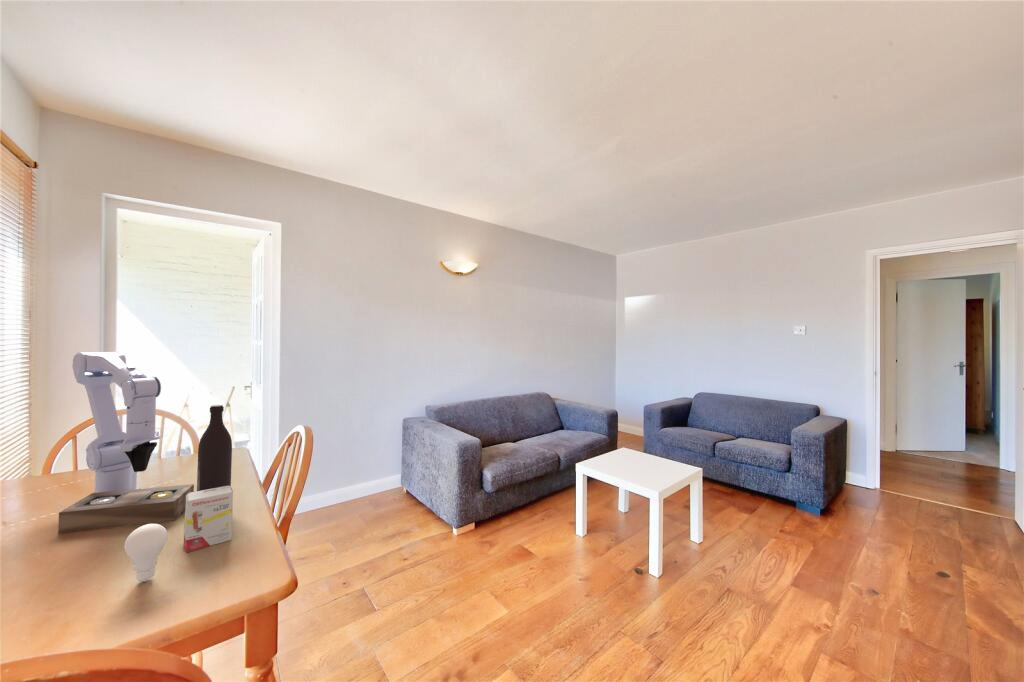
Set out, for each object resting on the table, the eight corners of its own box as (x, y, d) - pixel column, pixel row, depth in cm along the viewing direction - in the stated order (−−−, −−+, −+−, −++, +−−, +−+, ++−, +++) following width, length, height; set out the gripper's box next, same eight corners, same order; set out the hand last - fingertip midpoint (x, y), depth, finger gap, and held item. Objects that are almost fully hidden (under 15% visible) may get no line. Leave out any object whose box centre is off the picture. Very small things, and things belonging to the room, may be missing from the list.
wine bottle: (218, 510, 104) (221, 402, 104) (236, 515, 102) (239, 404, 102) (189, 522, 97) (192, 406, 97) (207, 527, 95) (211, 409, 95)
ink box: (184, 553, 84) (186, 500, 84) (183, 544, 87) (185, 493, 87) (232, 540, 90) (233, 490, 90) (229, 532, 93) (230, 484, 93)
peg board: (91, 511, 101) (92, 492, 101) (193, 501, 109) (193, 484, 109) (58, 533, 90) (58, 512, 90) (173, 520, 98) (174, 501, 98)
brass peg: (154, 510, 103) (155, 492, 103) (175, 508, 105) (175, 490, 105) (146, 517, 99) (146, 498, 99) (167, 515, 101) (168, 496, 101)
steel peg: (96, 516, 99) (97, 497, 99) (118, 514, 100) (119, 495, 100) (84, 524, 95) (85, 504, 95) (108, 521, 96) (108, 502, 96)
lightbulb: (142, 571, 77) (144, 518, 77) (174, 571, 78) (176, 517, 77) (113, 591, 71) (115, 533, 71) (148, 591, 71) (150, 533, 71)
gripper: (145, 426, 98) (144, 478, 98) (171, 415, 112) (171, 461, 112) (110, 427, 96) (108, 481, 96) (141, 417, 109) (140, 464, 109)
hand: (140, 470), depth 104 cm, fingers closed
